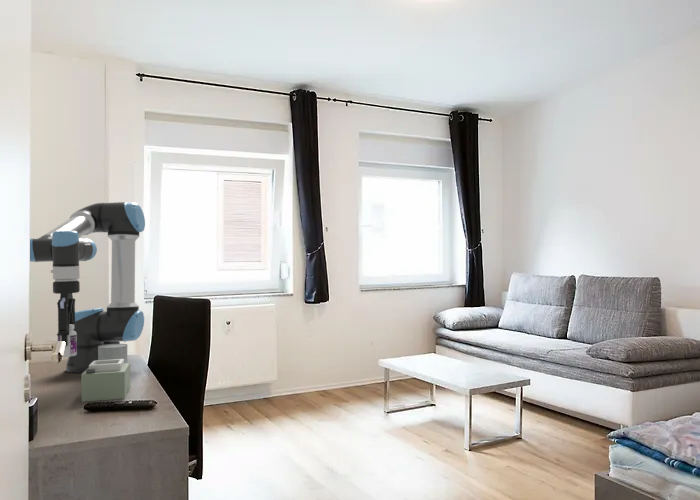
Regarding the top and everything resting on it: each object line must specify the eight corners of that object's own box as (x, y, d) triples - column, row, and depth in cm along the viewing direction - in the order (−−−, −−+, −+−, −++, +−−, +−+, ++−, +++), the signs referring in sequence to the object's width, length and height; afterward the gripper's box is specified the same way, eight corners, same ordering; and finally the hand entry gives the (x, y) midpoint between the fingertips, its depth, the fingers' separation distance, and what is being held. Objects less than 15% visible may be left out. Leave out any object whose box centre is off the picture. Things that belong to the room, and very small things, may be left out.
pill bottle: (58, 357, 178) (58, 326, 178) (57, 355, 183) (56, 324, 183) (78, 355, 181) (77, 324, 181) (75, 353, 186) (75, 323, 186)
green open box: (91, 390, 188) (90, 359, 188) (130, 387, 191) (130, 356, 191) (81, 401, 172) (81, 367, 172) (124, 398, 175) (124, 365, 175)
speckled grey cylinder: (117, 384, 196) (117, 347, 196) (92, 383, 198) (91, 347, 198) (133, 378, 205) (133, 343, 205) (109, 378, 207) (108, 343, 207)
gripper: (59, 279, 190) (61, 350, 190) (45, 282, 172) (46, 360, 172) (84, 278, 192) (85, 349, 192) (73, 281, 174) (74, 359, 174)
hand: (67, 354), depth 182 cm, fingers closed on pill bottle, 5 cm apart
